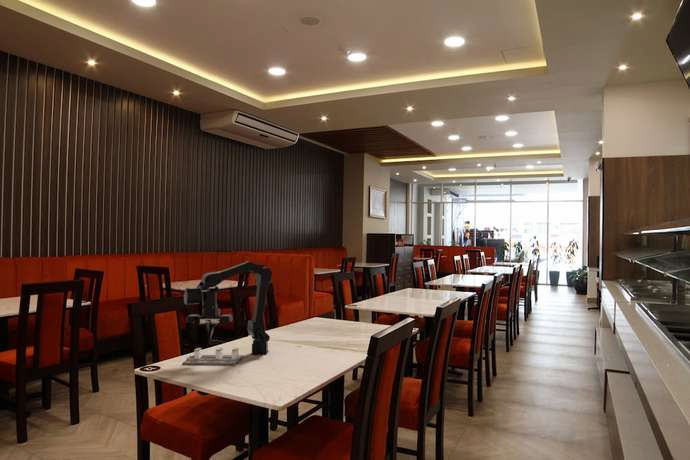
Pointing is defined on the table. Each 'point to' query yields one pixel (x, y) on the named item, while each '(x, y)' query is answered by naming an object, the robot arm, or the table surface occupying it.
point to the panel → (212, 360)
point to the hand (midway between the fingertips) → (209, 338)
